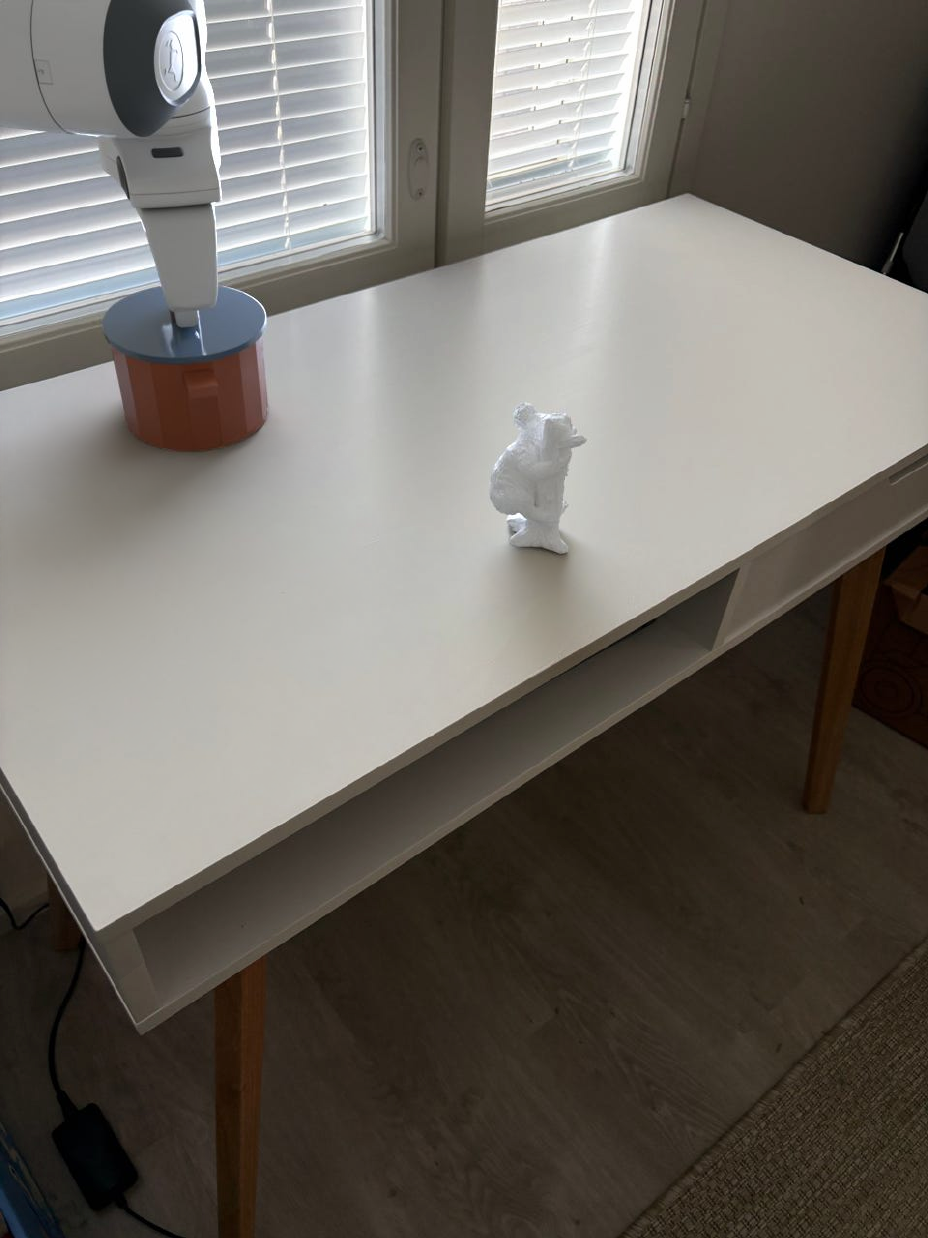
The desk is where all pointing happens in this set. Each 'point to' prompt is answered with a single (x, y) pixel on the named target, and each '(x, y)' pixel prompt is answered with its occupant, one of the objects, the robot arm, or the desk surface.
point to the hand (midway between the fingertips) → (183, 312)
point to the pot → (194, 399)
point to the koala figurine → (535, 477)
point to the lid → (155, 336)
